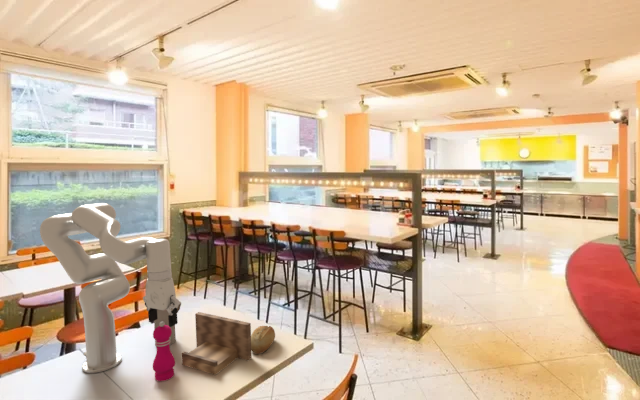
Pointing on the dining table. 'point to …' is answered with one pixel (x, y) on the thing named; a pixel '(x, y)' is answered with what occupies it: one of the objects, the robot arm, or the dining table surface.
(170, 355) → the pepper mill
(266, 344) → the bread roll
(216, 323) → the wall shelf
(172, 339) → the thermos bottle
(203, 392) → the dining table surface
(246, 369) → the dining table surface
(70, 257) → the robot arm
